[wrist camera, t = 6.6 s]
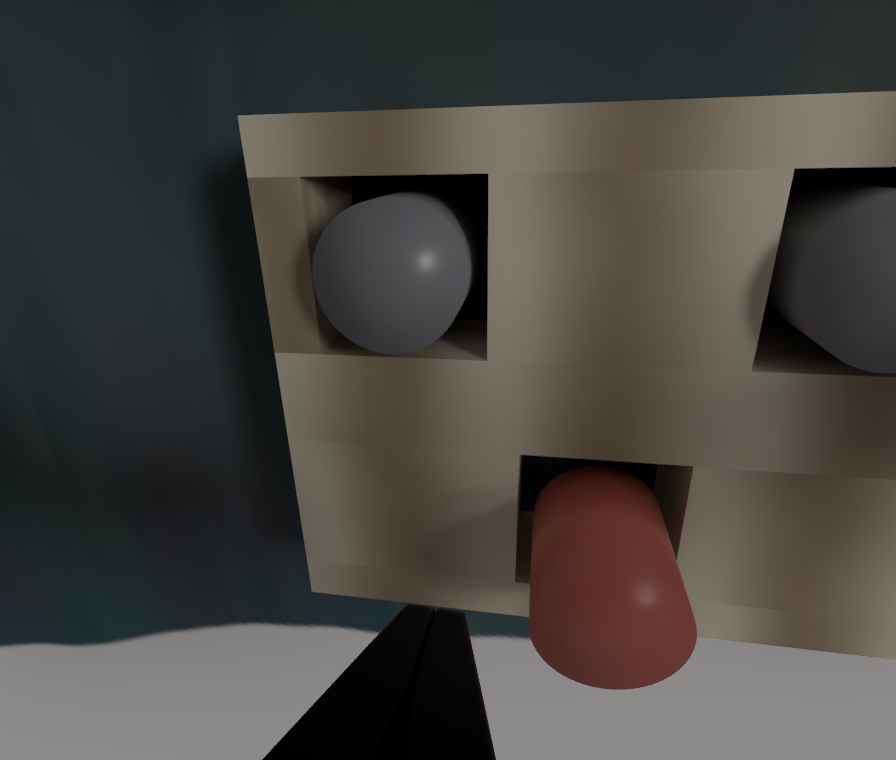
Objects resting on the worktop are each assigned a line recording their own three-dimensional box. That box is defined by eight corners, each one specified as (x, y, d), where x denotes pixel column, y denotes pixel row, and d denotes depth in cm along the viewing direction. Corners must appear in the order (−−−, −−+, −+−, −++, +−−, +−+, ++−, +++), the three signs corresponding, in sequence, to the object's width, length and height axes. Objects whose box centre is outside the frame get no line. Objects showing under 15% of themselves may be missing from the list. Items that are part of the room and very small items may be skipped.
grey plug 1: (483, 186, 17) (462, 198, 13) (482, 311, 18) (464, 356, 14) (360, 188, 18) (303, 200, 13) (370, 308, 19) (321, 351, 15)
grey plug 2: (916, 180, 15) (1056, 192, 11) (875, 320, 16) (982, 377, 12) (760, 183, 16) (835, 195, 11) (734, 317, 17) (792, 369, 13)
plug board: (1012, 98, 14) (1170, 80, 11) (850, 571, 21) (915, 661, 17) (301, 122, 18) (237, 115, 14) (347, 524, 24) (312, 591, 20)
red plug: (669, 470, 16) (710, 577, 12) (653, 573, 18) (683, 699, 14) (535, 461, 17) (531, 559, 13) (531, 561, 19) (525, 677, 14)
